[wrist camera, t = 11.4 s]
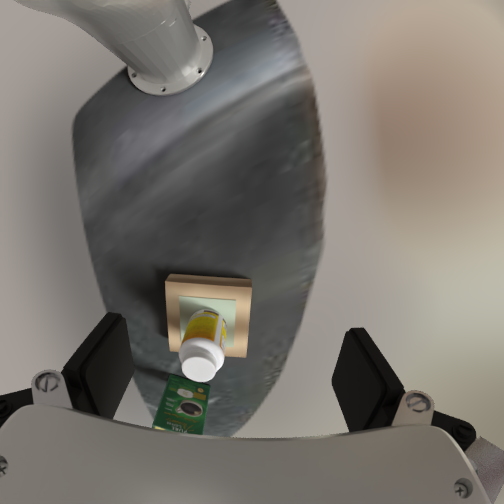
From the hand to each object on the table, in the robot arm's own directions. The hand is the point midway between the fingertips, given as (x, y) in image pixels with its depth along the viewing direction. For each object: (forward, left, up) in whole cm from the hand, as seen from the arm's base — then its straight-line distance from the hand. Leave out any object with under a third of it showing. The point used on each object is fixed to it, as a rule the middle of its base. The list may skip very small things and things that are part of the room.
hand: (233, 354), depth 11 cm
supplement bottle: (+14, -4, -25) cm, 29 cm away
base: (+14, -4, -28) cm, 32 cm away
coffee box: (+30, -8, -28) cm, 42 cm away
